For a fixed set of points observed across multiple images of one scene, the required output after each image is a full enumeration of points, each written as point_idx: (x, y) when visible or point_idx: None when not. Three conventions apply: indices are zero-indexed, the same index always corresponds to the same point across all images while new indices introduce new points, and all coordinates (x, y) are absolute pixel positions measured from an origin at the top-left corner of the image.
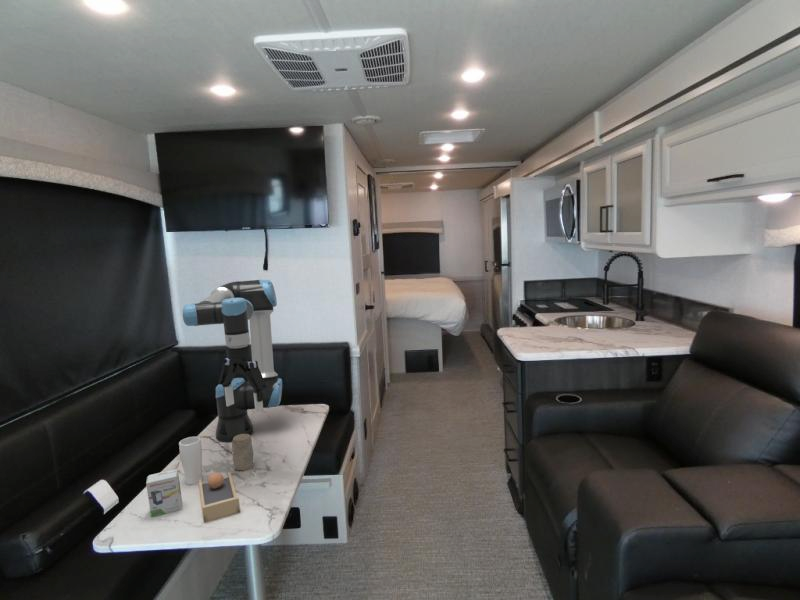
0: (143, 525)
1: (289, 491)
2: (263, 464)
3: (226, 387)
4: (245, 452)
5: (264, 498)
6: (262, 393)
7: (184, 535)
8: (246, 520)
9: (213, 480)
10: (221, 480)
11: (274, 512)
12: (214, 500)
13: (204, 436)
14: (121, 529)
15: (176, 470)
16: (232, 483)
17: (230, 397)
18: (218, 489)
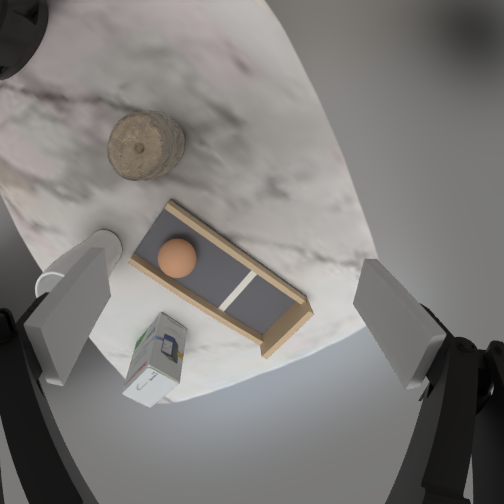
0: None
1: (355, 194)
2: (198, 104)
3: (56, 377)
4: (172, 156)
5: (318, 237)
6: (450, 336)
7: (255, 364)
8: (330, 304)
9: (186, 275)
10: (195, 257)
11: None
12: (222, 289)
13: None
14: None
15: (153, 370)
16: (222, 244)
17: (87, 298)
18: None
